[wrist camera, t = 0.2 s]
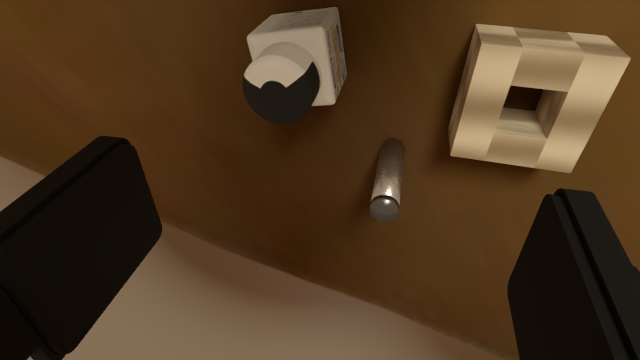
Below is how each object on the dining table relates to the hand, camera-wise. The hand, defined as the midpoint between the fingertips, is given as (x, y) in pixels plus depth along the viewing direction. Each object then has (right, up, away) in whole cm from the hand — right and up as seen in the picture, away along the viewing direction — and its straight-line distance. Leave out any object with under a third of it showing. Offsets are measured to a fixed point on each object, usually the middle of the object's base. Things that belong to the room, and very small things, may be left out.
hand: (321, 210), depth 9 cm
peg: (+9, +5, +41) cm, 42 cm away
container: (-1, +16, +35) cm, 39 cm away
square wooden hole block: (+21, +11, +33) cm, 41 cm away
